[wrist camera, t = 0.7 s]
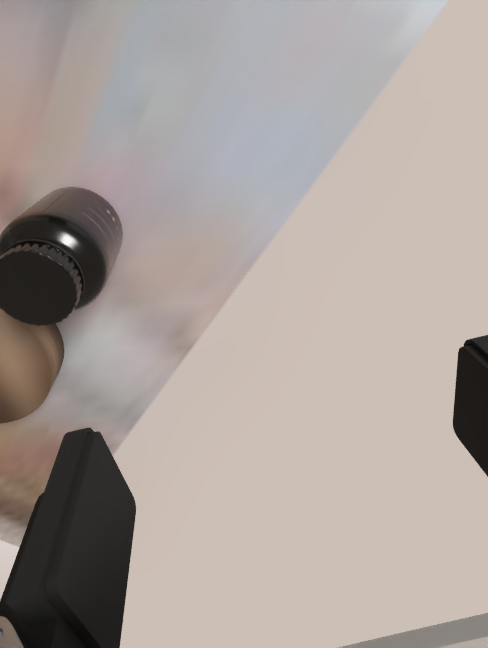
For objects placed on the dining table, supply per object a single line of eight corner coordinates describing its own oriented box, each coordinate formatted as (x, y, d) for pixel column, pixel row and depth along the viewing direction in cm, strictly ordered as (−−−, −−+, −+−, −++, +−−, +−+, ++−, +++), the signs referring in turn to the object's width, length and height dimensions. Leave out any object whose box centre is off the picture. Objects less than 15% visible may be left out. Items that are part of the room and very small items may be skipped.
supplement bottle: (70, 280, 36) (18, 358, 26) (18, 207, 33) (-65, 263, 23) (140, 247, 35) (117, 314, 25) (95, 170, 32) (45, 210, 22)
